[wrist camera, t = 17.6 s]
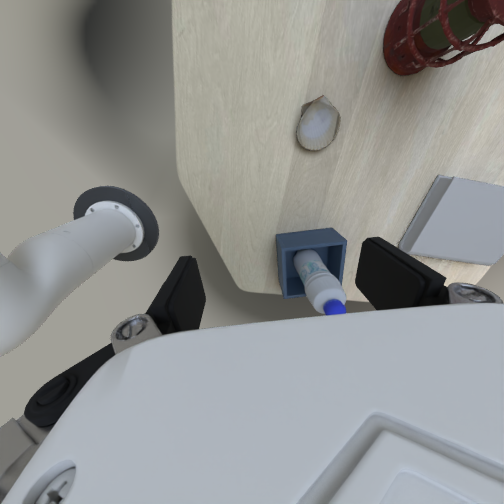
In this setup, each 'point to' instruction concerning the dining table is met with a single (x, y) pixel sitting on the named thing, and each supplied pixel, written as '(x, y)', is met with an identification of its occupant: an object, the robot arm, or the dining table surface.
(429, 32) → the lantern
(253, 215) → the dining table surface
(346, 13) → the dining table surface
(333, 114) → the seashell
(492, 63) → the dining table surface
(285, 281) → the bin
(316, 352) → the robot arm
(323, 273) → the bottle
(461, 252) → the book
